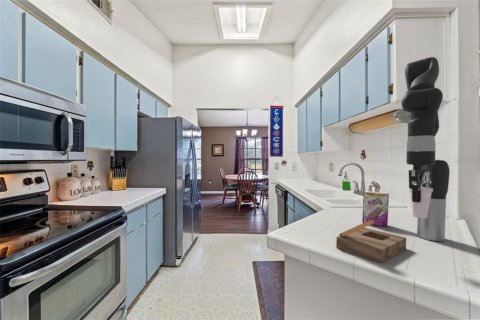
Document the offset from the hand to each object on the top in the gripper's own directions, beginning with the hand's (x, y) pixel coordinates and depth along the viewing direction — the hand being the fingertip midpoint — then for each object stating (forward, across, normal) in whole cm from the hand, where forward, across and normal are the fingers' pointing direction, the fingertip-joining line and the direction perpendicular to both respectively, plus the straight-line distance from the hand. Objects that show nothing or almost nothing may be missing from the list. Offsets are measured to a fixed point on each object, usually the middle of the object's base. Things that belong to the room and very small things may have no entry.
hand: (419, 200), depth 77 cm
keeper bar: (+11, +12, -15) cm, 22 cm away
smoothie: (+5, 0, 0) cm, 5 cm away
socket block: (+19, +4, -13) cm, 24 cm away
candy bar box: (+20, -33, -27) cm, 47 cm away
